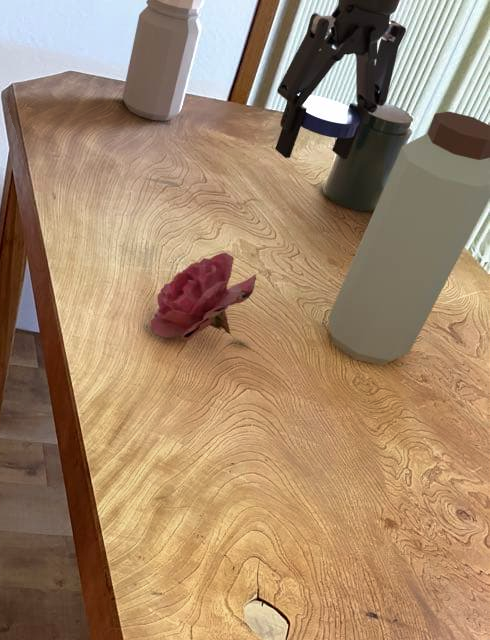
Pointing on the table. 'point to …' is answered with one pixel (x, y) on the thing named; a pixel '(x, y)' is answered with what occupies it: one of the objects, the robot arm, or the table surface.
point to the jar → (162, 58)
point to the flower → (199, 299)
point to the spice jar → (369, 159)
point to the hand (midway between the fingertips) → (311, 154)
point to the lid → (330, 118)
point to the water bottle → (413, 239)
